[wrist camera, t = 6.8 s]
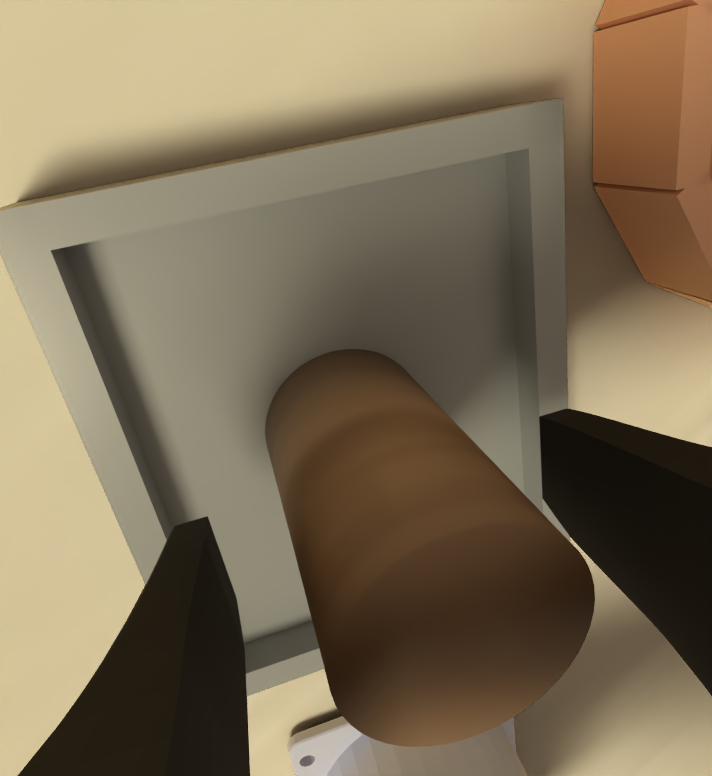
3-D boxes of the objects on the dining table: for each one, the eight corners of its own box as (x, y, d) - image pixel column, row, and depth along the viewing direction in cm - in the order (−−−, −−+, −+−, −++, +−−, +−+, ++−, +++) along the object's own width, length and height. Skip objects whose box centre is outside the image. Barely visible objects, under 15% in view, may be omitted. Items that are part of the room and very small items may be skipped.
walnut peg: (429, 470, 15) (591, 691, 9) (284, 513, 15) (353, 781, 9) (412, 331, 14) (597, 486, 8) (247, 372, 13) (301, 579, 7)
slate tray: (534, 539, 19) (570, 581, 17) (199, 653, 17) (201, 712, 15) (512, 104, 13) (563, 98, 12) (14, 202, 12) (-18, 213, 10)
